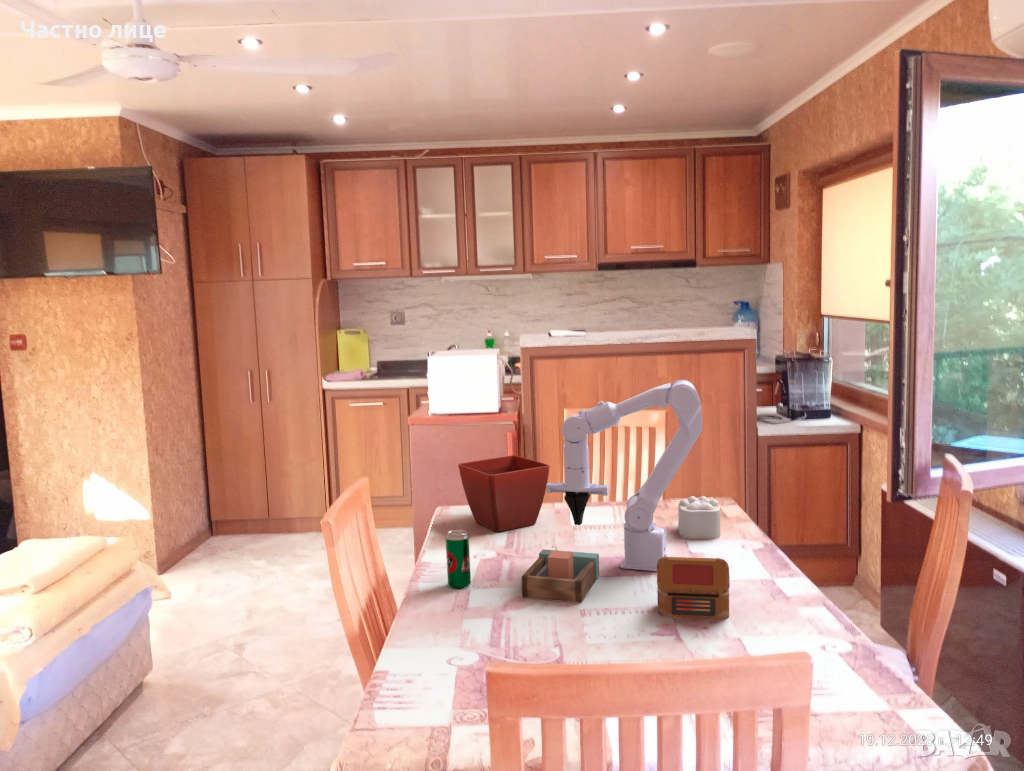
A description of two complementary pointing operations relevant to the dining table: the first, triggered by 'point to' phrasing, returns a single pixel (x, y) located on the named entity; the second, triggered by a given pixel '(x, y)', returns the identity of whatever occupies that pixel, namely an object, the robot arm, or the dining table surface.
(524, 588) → the caddy
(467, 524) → the dining table surface
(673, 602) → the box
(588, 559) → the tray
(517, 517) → the plant pot
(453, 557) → the soda can
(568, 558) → the brick-red block
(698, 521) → the lumpy-topped squat cylinder
